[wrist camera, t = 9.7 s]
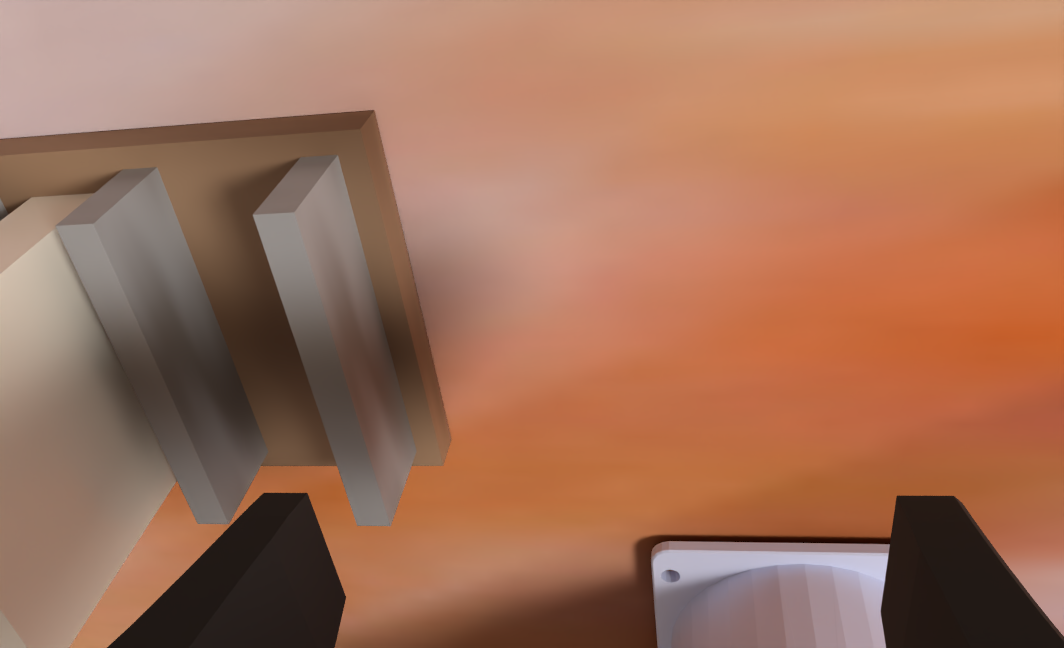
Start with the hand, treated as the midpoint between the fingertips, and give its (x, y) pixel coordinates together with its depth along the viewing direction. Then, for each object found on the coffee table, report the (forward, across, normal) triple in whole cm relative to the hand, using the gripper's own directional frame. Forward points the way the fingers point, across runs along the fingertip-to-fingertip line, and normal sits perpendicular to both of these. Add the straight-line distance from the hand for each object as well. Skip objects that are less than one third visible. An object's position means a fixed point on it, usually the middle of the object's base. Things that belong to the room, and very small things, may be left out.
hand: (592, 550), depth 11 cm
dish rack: (+9, +12, +2) cm, 15 cm away
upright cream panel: (+8, +12, +2) cm, 15 cm away
